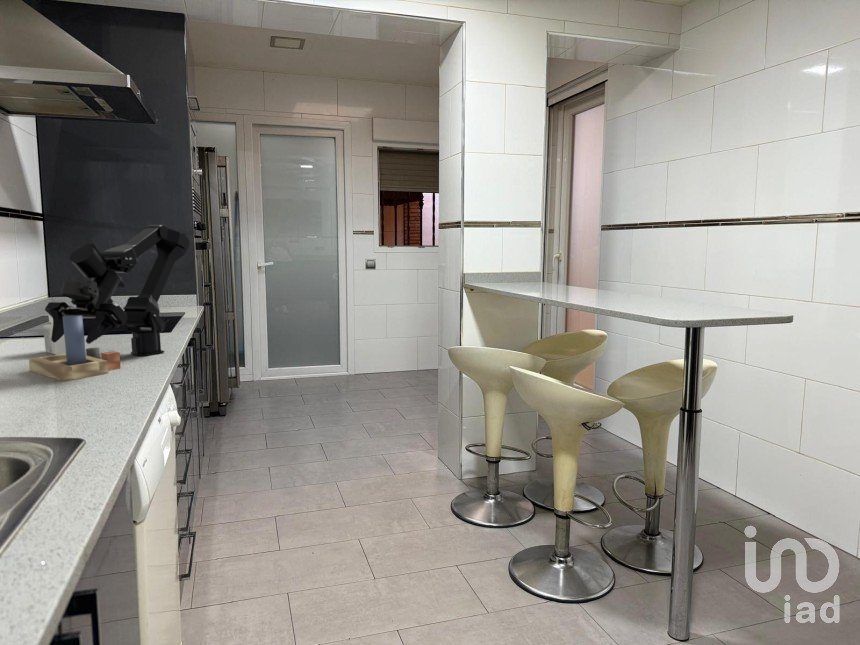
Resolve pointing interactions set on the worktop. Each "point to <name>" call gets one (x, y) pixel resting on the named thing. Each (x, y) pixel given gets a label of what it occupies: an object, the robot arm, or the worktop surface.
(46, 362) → the socket board
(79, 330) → the blue-grey cylinder
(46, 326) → the container
